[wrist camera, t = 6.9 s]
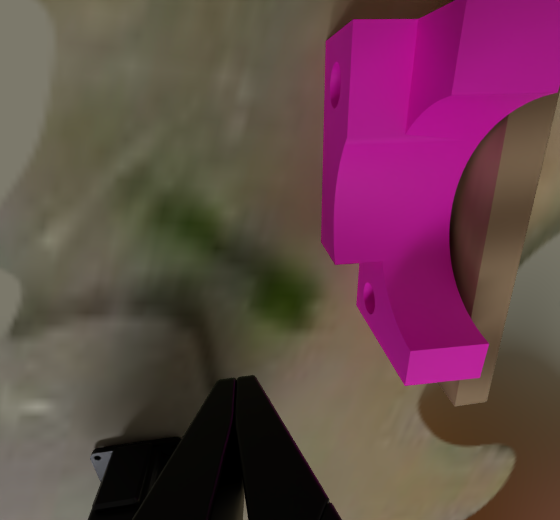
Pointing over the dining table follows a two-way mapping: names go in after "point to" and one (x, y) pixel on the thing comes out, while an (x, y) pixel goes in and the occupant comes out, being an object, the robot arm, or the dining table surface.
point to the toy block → (421, 161)
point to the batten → (495, 227)
